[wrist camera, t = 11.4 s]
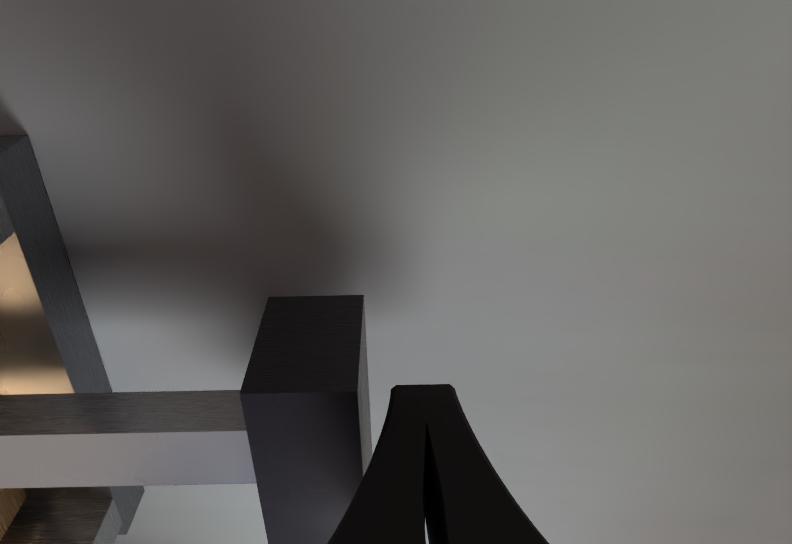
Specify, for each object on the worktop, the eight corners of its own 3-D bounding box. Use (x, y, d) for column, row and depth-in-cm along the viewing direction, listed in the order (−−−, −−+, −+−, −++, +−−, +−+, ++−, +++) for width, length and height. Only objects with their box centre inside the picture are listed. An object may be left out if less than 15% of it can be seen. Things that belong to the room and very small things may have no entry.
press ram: (373, 489, 16) (371, 601, 14) (-70, 498, 16) (-155, 610, 14) (361, 253, 13) (354, 344, 10) (-207, 265, 13) (-358, 359, 10)
